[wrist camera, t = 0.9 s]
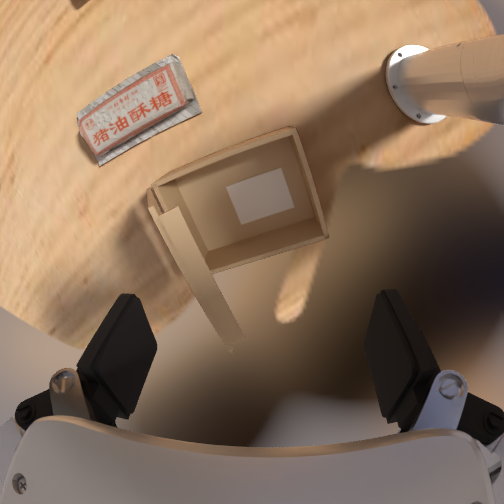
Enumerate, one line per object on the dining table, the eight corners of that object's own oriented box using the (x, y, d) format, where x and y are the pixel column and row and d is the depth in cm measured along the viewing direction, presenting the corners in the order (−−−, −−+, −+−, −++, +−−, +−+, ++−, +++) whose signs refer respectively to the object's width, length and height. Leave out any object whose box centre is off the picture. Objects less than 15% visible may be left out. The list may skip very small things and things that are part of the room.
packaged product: (168, 46, 25) (196, 112, 29) (179, 53, 29) (204, 112, 33) (63, 115, 28) (86, 172, 33) (81, 113, 33) (102, 165, 37)
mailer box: (289, 126, 34) (296, 128, 27) (318, 217, 40) (329, 237, 33) (168, 172, 37) (151, 184, 31) (207, 253, 43) (198, 278, 37)
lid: (172, 195, 17) (146, 209, 16) (248, 343, 23) (229, 353, 22) (160, 181, 30) (146, 189, 30) (206, 275, 36) (194, 282, 36)
